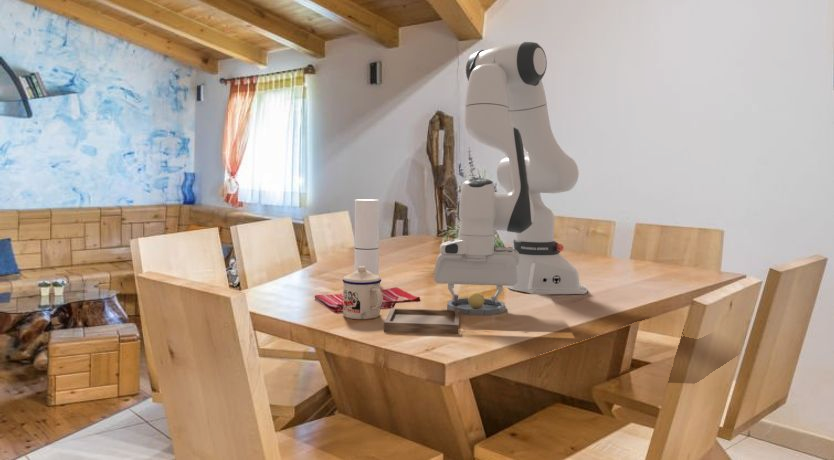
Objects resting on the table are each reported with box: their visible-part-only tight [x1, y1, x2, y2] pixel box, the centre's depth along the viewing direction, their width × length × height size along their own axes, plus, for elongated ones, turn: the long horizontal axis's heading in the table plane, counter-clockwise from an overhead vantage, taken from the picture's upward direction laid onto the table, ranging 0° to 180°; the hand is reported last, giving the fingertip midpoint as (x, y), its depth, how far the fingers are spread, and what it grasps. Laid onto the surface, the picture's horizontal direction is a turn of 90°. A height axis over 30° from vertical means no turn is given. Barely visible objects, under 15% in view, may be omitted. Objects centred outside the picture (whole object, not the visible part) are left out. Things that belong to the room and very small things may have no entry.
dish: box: [446, 296, 507, 316], centre depth 160 cm, size 14×14×2 cm
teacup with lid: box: [342, 266, 383, 320], centre depth 153 cm, size 12×9×12 cm
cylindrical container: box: [353, 198, 380, 276], centre depth 193 cm, size 7×7×25 cm
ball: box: [467, 291, 485, 308], centre depth 159 cm, size 4×4×4 cm
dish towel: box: [313, 286, 421, 313], centre depth 170 cm, size 17×24×3 cm
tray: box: [383, 307, 460, 335], centre depth 147 cm, size 16×14×2 cm
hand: (474, 302), depth 159 cm, fingers open, 8 cm apart
